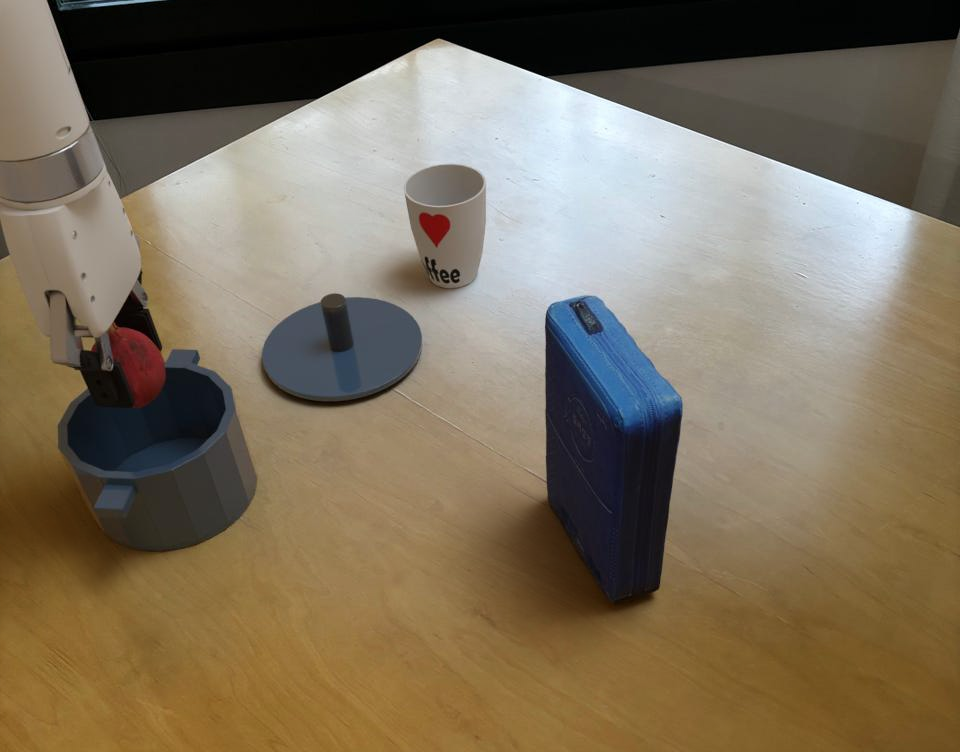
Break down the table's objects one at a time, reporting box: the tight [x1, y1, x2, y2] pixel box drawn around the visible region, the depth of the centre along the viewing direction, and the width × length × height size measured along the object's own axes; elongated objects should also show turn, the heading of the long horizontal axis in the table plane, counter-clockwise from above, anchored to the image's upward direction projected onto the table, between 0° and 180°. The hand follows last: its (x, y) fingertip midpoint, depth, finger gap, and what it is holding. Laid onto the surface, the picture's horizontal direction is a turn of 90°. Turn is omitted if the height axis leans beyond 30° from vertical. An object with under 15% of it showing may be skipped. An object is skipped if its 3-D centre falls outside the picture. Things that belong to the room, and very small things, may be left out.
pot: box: [57, 348, 258, 552], centre depth 92 cm, size 15×20×8 cm
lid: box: [261, 292, 423, 402], centre depth 104 cm, size 16×16×6 cm
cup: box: [403, 163, 487, 289], centre depth 110 cm, size 8×8×10 cm
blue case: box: [544, 294, 684, 605], centre depth 80 cm, size 14×5×20 cm, turn 21°
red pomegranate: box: [90, 321, 166, 408], centre depth 85 cm, size 6×6×8 cm
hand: (129, 376), depth 86 cm, fingers closed on red pomegranate, 5 cm apart
